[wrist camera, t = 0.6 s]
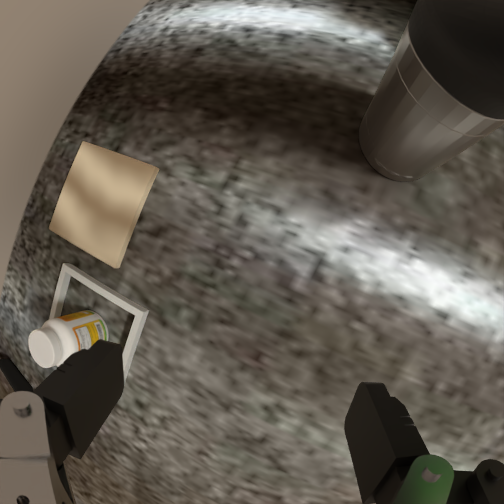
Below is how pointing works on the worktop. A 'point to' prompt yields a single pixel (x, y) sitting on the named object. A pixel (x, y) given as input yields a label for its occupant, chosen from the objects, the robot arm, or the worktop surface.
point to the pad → (102, 202)
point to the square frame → (111, 295)
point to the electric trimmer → (14, 376)
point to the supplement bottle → (66, 337)
